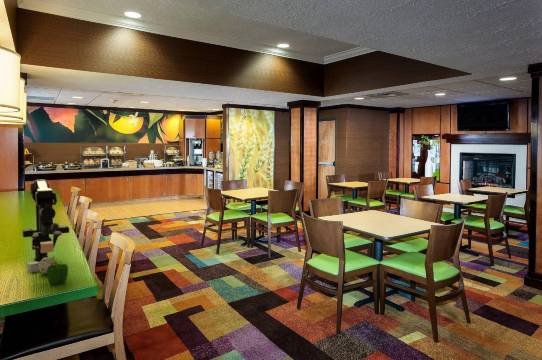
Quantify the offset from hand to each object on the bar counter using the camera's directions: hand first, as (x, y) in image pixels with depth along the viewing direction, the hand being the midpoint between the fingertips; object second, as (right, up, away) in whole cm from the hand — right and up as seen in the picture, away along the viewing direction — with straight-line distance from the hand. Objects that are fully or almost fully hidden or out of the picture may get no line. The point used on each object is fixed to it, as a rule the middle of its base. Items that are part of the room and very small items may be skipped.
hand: (46, 249), depth 181 cm
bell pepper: (+11, -13, -12) cm, 21 cm away
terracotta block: (0, -1, 0) cm, 1 cm away
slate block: (-9, -11, +4) cm, 15 cm away
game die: (0, -12, +1) cm, 12 cm away
